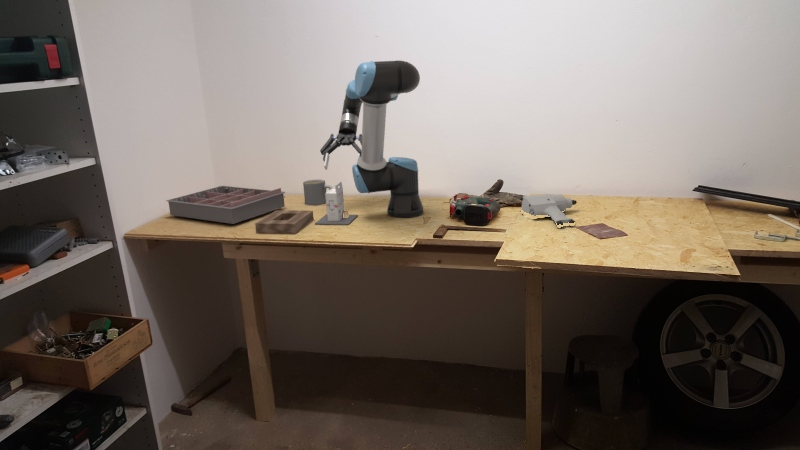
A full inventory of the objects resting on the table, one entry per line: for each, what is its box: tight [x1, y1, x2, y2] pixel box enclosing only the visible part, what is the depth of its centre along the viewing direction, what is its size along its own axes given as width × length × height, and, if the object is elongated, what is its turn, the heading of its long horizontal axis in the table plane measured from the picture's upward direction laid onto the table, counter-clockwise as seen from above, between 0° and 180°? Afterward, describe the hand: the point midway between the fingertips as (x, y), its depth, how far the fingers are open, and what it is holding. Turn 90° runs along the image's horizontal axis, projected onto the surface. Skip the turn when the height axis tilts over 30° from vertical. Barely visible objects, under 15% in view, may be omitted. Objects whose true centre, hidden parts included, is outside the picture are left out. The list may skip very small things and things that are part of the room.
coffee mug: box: [302, 178, 334, 206], centre depth 268 cm, size 13×10×10 cm
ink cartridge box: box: [325, 181, 345, 221], centre depth 237 cm, size 9×5×15 cm, turn 168°
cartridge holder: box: [254, 209, 314, 235], centre depth 233 cm, size 16×20×4 cm
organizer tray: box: [165, 185, 286, 225], centre depth 257 cm, size 32×40×10 cm
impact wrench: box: [520, 193, 578, 225], centre depth 226 cm, size 8×23×25 cm
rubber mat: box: [314, 213, 359, 226], centre depth 239 cm, size 14×14×1 cm
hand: (341, 168), depth 243 cm, fingers open, 13 cm apart
